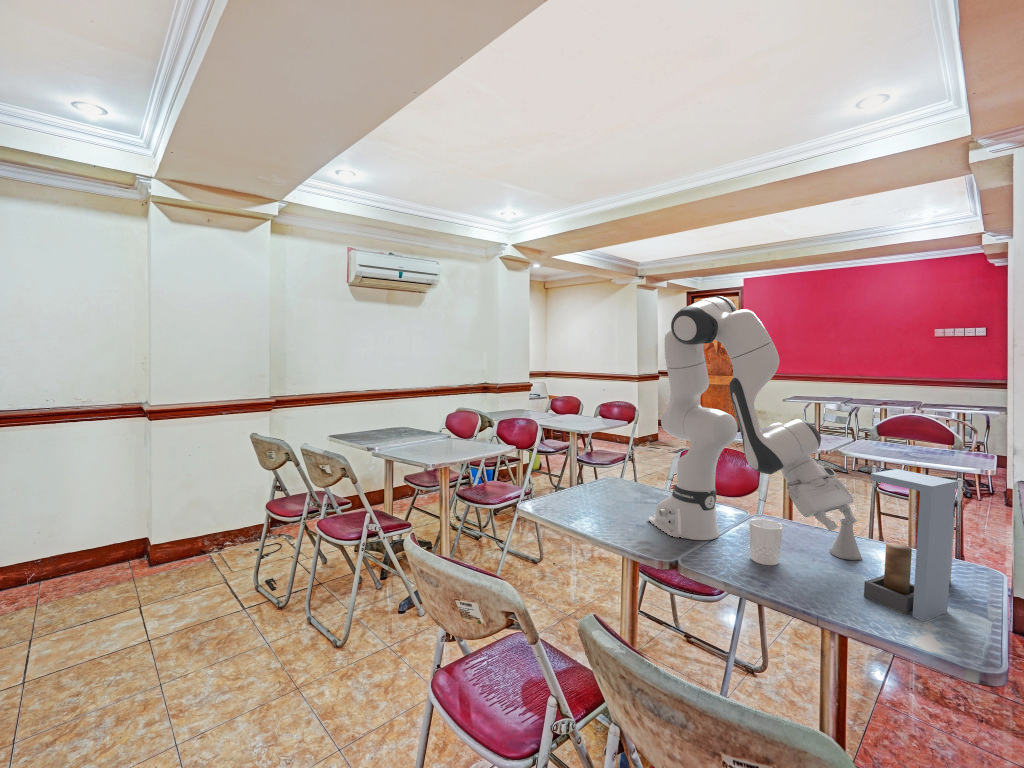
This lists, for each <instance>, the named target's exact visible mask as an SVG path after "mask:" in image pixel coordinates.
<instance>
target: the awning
mask: <svg viewBox="0 0 1024 768" xmlns="http://www.w3.org/2000/svg"><path fill="white" fill-rule="evenodd" d="M870 481H874V482H879V483H882V484H887V485H891V486H897V487H901V488H904V489H905V488H906V489H908V490H914V491H918V492H919V499H918V500H919V501H918V502H919V504H918V505H919V506H918V516H917V517H918V519H917V520H918V522H917V534H916V535H917V538H916V551H915V552H916V554H915V566H914V567H915V572H914V600H913V612H912V617H913V618H915V619H917V620H919V621H922V622H926V621H929V620H931V619H933V618H935V617H938V616H941V615H943V614H946V613H948V606H949V605H948V604H949V591H950V584H949V578H950V562H951V547H952V531H953V516H954V513H955V512H954V503H955V501H956V500H955V498H956V497H955V496H956V489H958V488H959V480H954V479H950V478H945V477H940V476H933V475H929V474H924V473H919V472H914V471H909V470H903V469H898V468H895V469H894V468H893V469H890V470H883V471H878V472H877V471H876V472H872V473H870Z"/></svg>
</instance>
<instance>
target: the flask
mask: <svg viewBox="0 0 1024 768" xmlns="http://www.w3.org/2000/svg"><path fill="white" fill-rule="evenodd" d="M844 519H845V517H840V518H839V520H840V528H839V531H838V533H837V535H836V537H835V539H834V541H833V543H832V544H831V547H830V548H829V553H830V554H831V555H833V556H834V557H838V558H839V559H841V560H848V561H849V560H850V561H858V560H862V559H863V558H862V554H861V553H860V549H859V547H858V544H857V543H858V542H857V540H856V538H855V535H854V534H855V533H854V524H851V525H849V524H848V523H847V522H846V521H845V520H844Z"/></svg>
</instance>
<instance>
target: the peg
mask: <svg viewBox="0 0 1024 768" xmlns="http://www.w3.org/2000/svg"><path fill="white" fill-rule="evenodd" d="M912 553H913V549H912V547H910V546H908V545H905V544H902V543H896V542H888V543H885V556H884V557H885V559H884V571H883V572H884V574H883V575H884V587H885V588H887V589H890V590H892V591H895V592H897V593H900V594H902V595H908V594H909V589H910V583H911V572H912V571H911V570H912V569H911V568H912V567H911V566H912V555H913V554H912Z"/></svg>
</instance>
